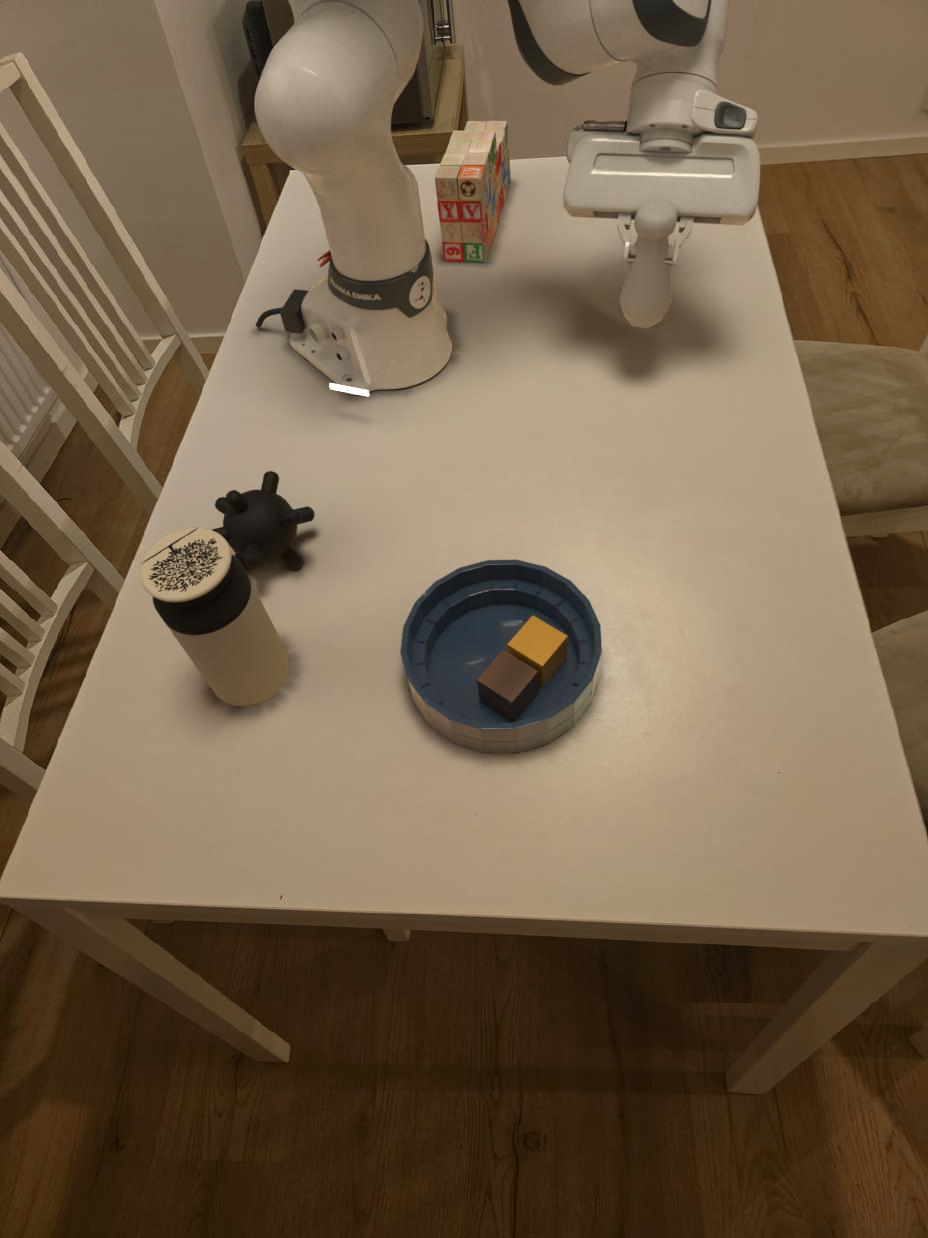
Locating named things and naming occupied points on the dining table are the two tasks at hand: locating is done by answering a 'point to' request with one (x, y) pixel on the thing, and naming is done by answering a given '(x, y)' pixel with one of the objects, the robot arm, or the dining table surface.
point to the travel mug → (216, 615)
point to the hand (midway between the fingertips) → (649, 263)
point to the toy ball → (261, 524)
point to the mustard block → (540, 648)
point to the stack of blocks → (472, 189)
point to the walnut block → (508, 685)
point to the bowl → (475, 635)
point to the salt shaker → (649, 266)
